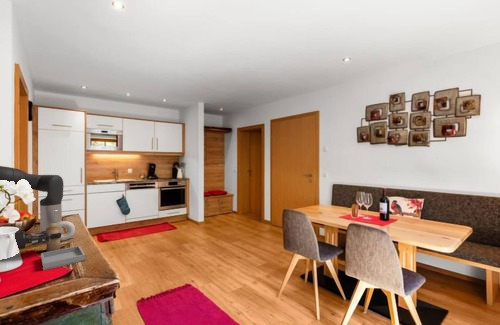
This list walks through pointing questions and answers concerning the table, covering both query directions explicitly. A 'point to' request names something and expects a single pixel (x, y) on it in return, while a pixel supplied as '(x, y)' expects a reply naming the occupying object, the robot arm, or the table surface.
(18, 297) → the table surface
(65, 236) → the donut
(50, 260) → the tray
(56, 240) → the pepper mill
